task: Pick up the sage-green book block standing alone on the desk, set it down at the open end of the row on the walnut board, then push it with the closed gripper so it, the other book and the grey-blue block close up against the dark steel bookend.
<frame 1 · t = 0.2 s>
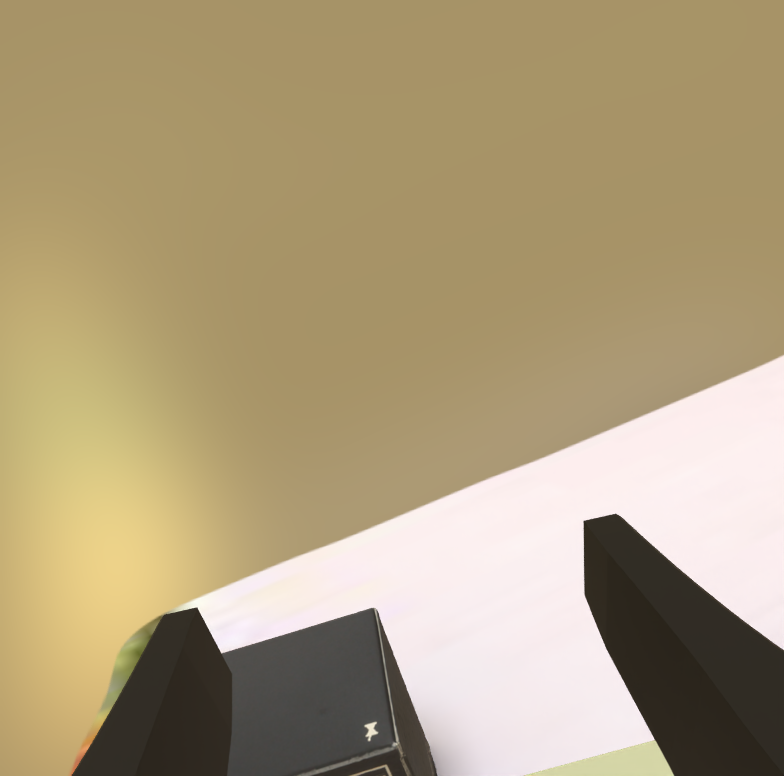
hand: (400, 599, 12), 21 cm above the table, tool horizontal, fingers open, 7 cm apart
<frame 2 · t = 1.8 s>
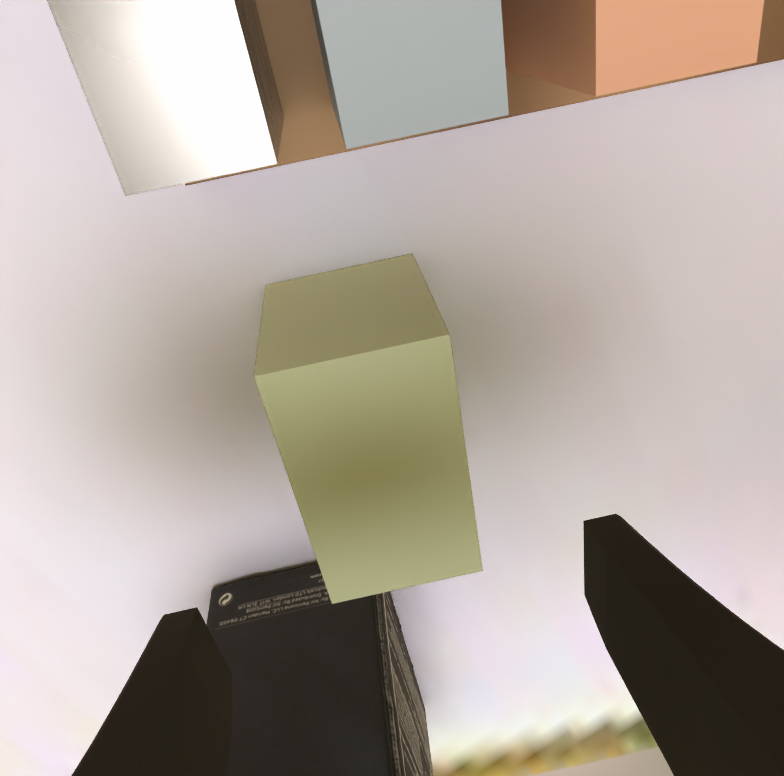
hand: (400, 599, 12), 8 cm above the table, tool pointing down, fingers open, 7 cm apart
small box: (325, 648, 25), on the table
sage book: (364, 377, 19), on the table
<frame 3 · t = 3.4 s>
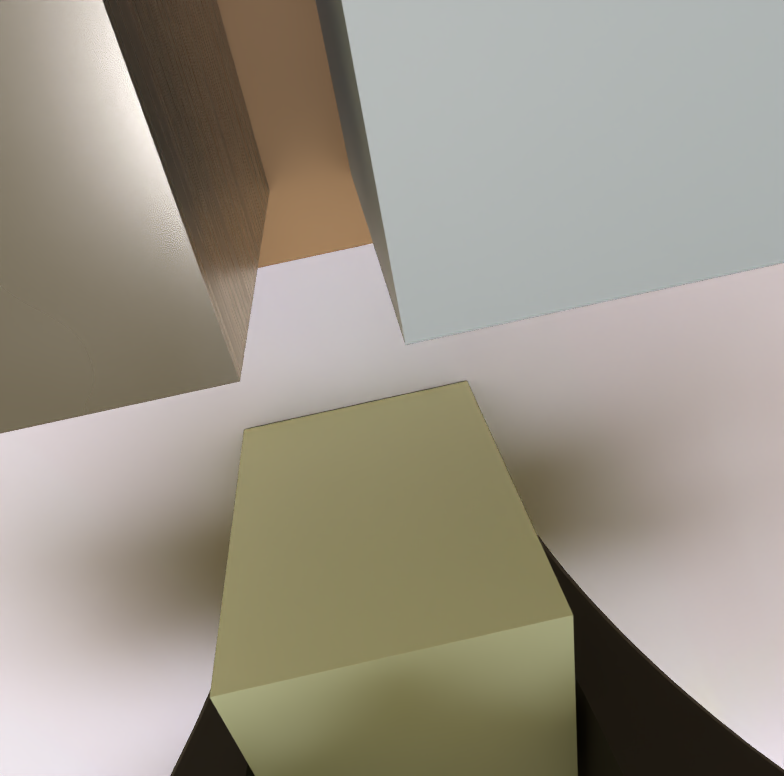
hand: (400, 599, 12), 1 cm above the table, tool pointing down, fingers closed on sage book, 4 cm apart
sage book: (390, 544, 13), on the table, touching gripper
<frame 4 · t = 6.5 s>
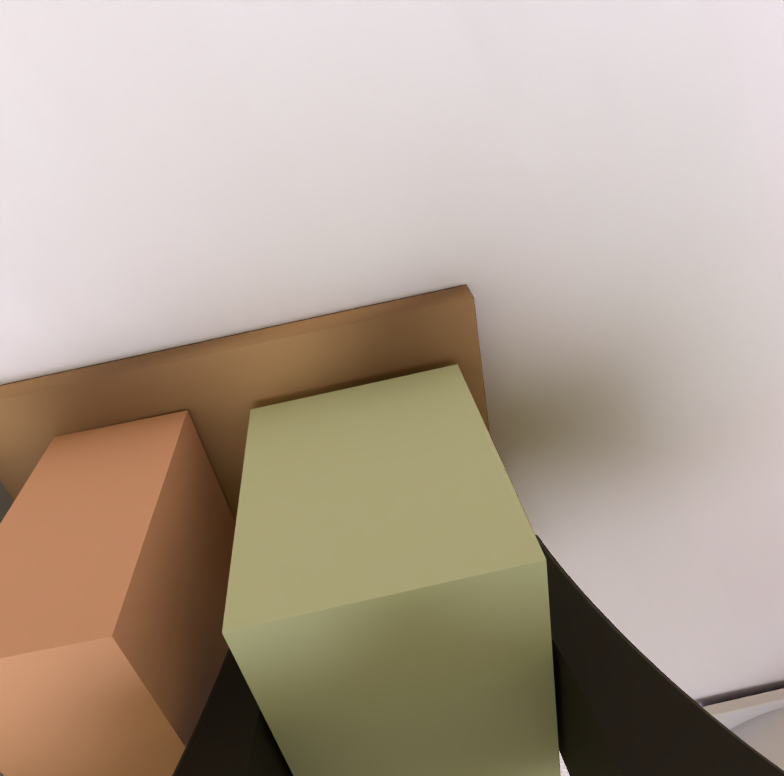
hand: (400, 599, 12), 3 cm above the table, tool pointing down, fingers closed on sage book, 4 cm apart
grey-blue block: (6, 589, 14), point 1 cm above the table, touching walnut board
terracotta book: (184, 551, 14), point 1 cm above the table, touching gripper, walnut board
walnut board: (146, 539, 14), on the table
sage book: (387, 521, 14), point 1 cm above the table, touching gripper
when the fingers open (3 cm above the table, at t = 7.4 s): sage book stays where it is, resting on walnut board.
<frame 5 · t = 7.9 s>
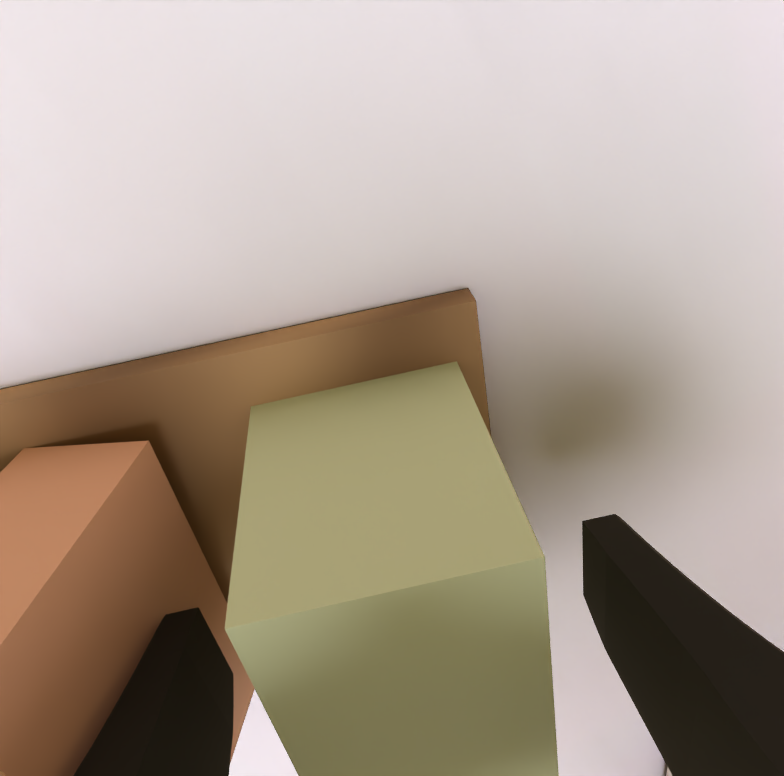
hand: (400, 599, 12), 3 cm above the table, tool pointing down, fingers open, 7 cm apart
terracotta book: (156, 573, 13), point 1 cm above the table, tilted 15°, touching grey-blue block, gripper, walnut board
walnut board: (143, 546, 14), on the table
sage book: (386, 516, 14), point 1 cm above the table, touching walnut board
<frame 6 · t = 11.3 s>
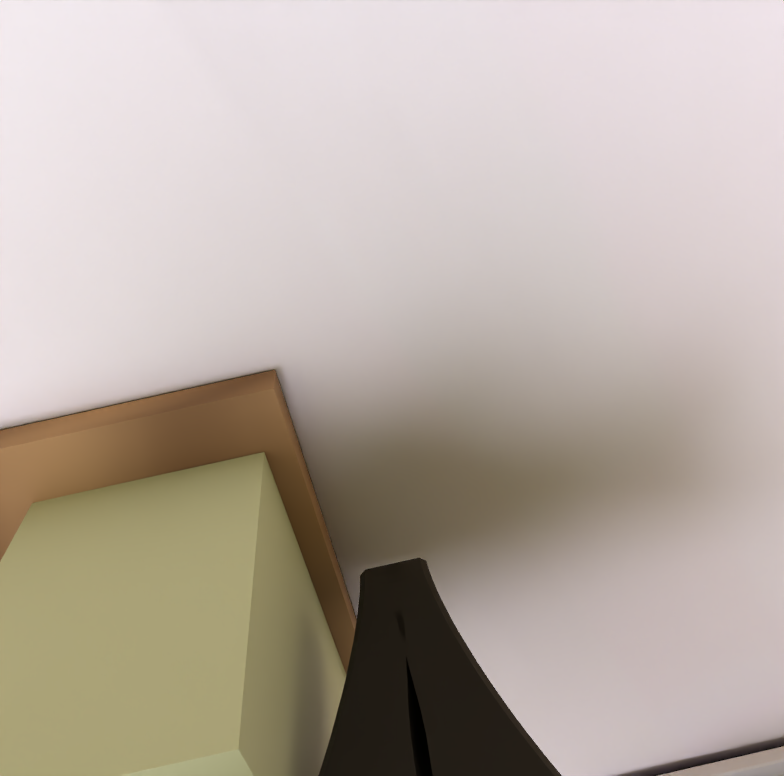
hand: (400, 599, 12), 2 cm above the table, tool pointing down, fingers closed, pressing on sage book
sage book: (215, 610, 12), point 1 cm above the table, touching gripper, walnut board
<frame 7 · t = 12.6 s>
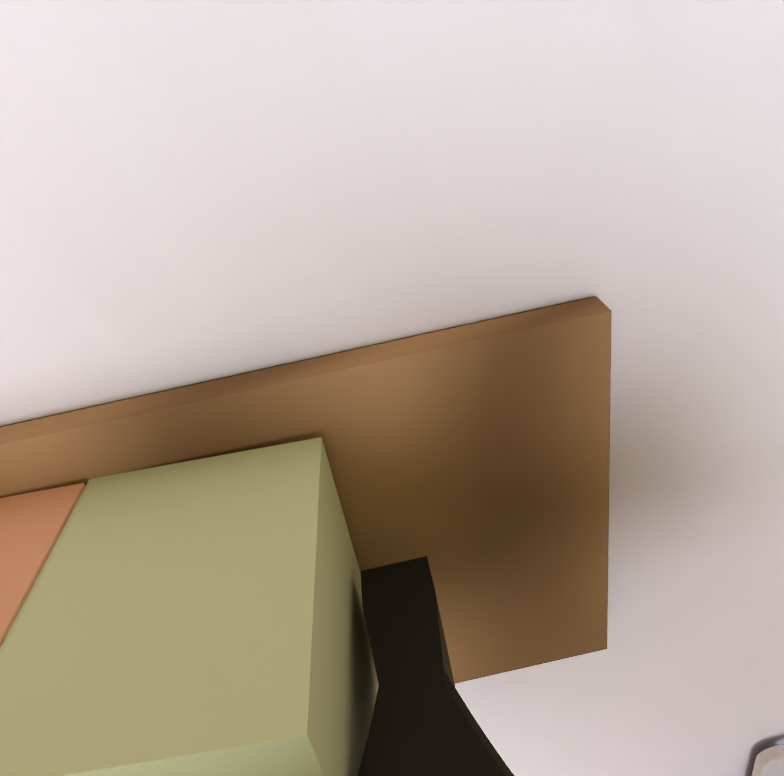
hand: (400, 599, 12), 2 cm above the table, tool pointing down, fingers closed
terracotta book: (96, 628, 12), point 1 cm above the table, touching grey-blue block, sage book, walnut board
walnut board: (220, 576, 13), on the table
sage book: (262, 595, 12), point 1 cm above the table, touching gripper, terracotta book, walnut board
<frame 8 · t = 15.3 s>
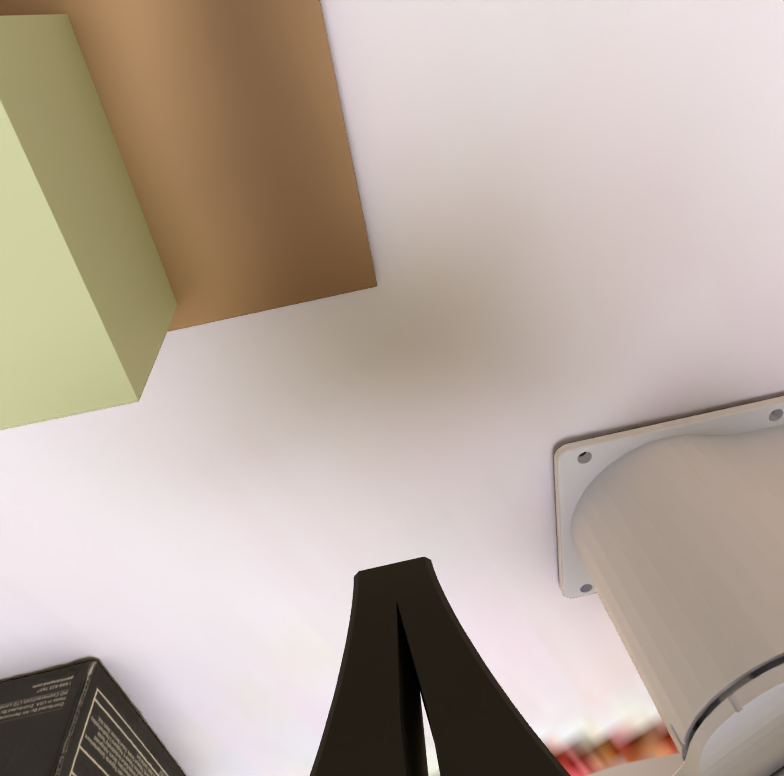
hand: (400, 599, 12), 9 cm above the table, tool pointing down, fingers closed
small box: (81, 736, 28), on the table
walnut board: (31, 180, 16), on the table
sage book: (48, 193, 15), point 1 cm above the table, touching walnut board
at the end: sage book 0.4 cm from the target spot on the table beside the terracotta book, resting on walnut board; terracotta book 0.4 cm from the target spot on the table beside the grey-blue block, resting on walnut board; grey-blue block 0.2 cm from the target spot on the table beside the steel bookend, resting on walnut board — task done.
